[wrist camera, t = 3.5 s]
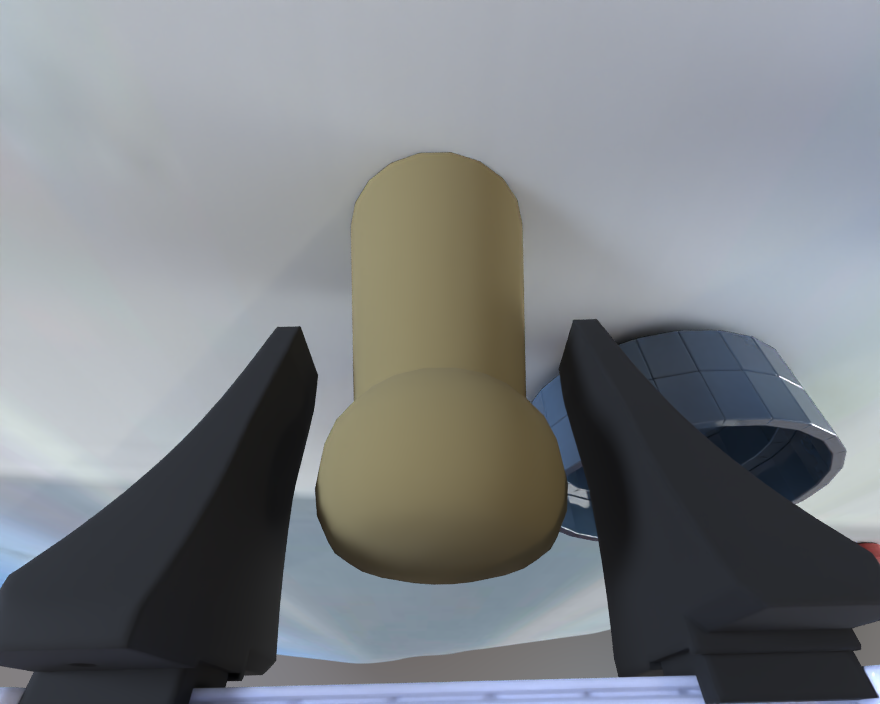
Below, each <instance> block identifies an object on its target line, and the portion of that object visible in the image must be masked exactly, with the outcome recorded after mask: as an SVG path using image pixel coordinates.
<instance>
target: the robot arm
mask: <svg viewBox="0 0 880 704" xmlns="http://www.w3.org/2000/svg"><path fill="white" fill-rule="evenodd" d="M559 375H560V382H561V388H562V394H563V400H564V405H565V408H566V412H567V415H568V419H569V422H570V426H571V429H572V432H573V436H574V439H575V442H576V446H577V449H578V453H579V456H580V459H581V463H582V466H583V469H584V473H585V476H586V480H587V484H588V488H589V492H590V497H591V502H592V508H593V513H594V518H595V524H596V529H597V535H598V541H599V547H600V553H601V559H602V566H603V573H604V580H605V587H606V594H607V601H608V609H609V617H610V626H611V633H612V642H613V653H614V660H615V664H616V668H617V672H618V677H617V678H580V679H579V678H577V679H544V680H543V679H538V680H500V681H461V682H423V683H383V684H344V685H305V686H266V687H228V688H225V686H226V683H227V681H242V679H243V677H244V675H263V674H264V673H265V672H266V671H267V670H268V669H269V668H270V667H271V666H272V665H273V664H274V663H275V661H276V653H277V638H278V624H279V611H280V600H281V589H282V579H283V569H284V561H285V552H286V544H287V536H288V528H289V521H290V514H291V507H292V500H293V495H294V490H295V485H296V481H297V477H298V473H299V469H300V465H301V461H302V457H303V453H304V449H305V445H306V441H307V437H308V433H309V429H310V425H311V421H312V416H313V412H314V406H315V399H316V390H317V380H318V374H317V371H316V368H315V366H314V363H313V360H312V357H311V354H310V352H309V349H308V346H307V343H306V341H305V338H304V335H303V332H302V329H301V327H300V326H299V327H277V328H276V329H275V330H274V331H273V333H272V334H271V335H270V337H269V338H268V339H267V341H266V342H265V343H264V345H263V346H262V347H261V349H260V350H259V351H258V353H257V354H256V355H255V357H254V358H253V359H252V360H251V362H250V363H249V364H248V366H247V367H246V368H245V370H244V371H243V372H242V373H241V374H240V376H239V377H238V378H237V379H236V381H235V382H234V383H233V384H232V386H231V387H230V388H229V389H228V391H227V392H226V393H225V394H224V395H223V397H222V398H221V399H220V400H219V401H218V402H217V403H216V404H215V406H214V407H213V408H212V409H211V410H210V411H209V412H208V413H207V415H206V416H205V417H204V418H203V419H202V420H201V421H200V422H199V423H198V424H197V426H196V427H195V428H194V429H193V430H192V431H191V432H190V433H189V434H188V435H187V436H186V437H185V438H184V439H183V440H182V441H181V442H180V443H179V444H178V445H177V446H176V447H175V448H174V449H173V450H172V451H171V452H170V453H168V454H167V455H166V456H165V457H164V458H163V459H162V460H161V461H160V462H159V463H158V464H156V465H155V466H154V467H153V468H152V469H151V470H150V471H149V472H147V473H146V474H145V475H144V476H143V477H142V478H140V479H139V480H138V481H137V482H136V483H135V484H133V485H132V486H131V487H130V488H129V489H128V490H126V491H125V492H124V493H123V494H122V495H120V496H119V497H118V498H116V499H115V500H114V501H113V502H111V503H110V504H109V505H107V506H106V507H105V508H104V509H102V510H101V511H100V512H99V513H97V514H96V515H95V516H93V517H92V518H91V519H89V520H88V521H87V522H85V523H84V524H83V525H81V526H80V527H79V528H77V529H76V530H74V531H73V532H72V533H70V534H69V535H67V536H66V537H65V538H63V539H62V540H60V541H59V542H57V543H56V544H54V545H53V546H51V547H50V548H49V549H47V550H46V551H44V552H43V553H41V554H40V555H38V556H37V557H35V558H34V559H32V560H31V561H30V562H28V563H27V564H25V565H24V566H22V567H21V568H19V569H18V570H16V571H15V572H13V573H12V574H10V575H9V576H8V577H7V579H6V580H5V582H4V584H3V585H2V587H1V589H0V666H4V667H10V668H16V669H22V670H27V671H33V672H34V673H33V675H32V677H31V679H30V681H29V683H28V685H27V687H26V688H18V687H0V704H880V665H871V666H861V665H860V663H859V661H858V659H857V657H856V656H855V654H854V652H853V651H856V650H861V644H860V642H859V640H858V638H857V637H856V635H855V633H854V631H853V630H852V628H855V627H858V626H861V625H865V624H869V623H872V622H876V621H880V563H879V562H878V560H877V559H876V558H875V556H874V555H873V553H872V552H870V551H868V550H867V549H865V548H863V547H862V546H860V545H859V544H857V543H855V542H854V541H852V540H850V539H849V538H847V537H846V536H844V535H842V534H841V533H839V532H837V531H836V530H834V529H833V528H831V527H829V526H828V525H826V524H824V523H823V522H821V521H819V520H818V519H816V518H815V517H813V516H812V515H810V514H809V513H807V512H806V511H804V510H803V509H801V508H800V507H798V506H797V505H795V504H794V503H792V502H791V501H789V500H788V499H786V498H785V497H783V496H782V495H781V494H779V493H778V492H776V491H775V490H773V489H772V488H771V487H769V486H768V485H766V484H765V483H764V482H762V481H761V480H760V479H758V478H757V477H756V476H754V475H753V474H752V473H750V472H749V471H748V470H746V469H745V468H744V467H743V466H741V465H740V464H739V463H737V462H736V461H735V460H733V459H732V458H731V457H730V456H728V455H727V454H726V453H725V452H723V451H722V450H721V449H720V448H718V447H717V446H716V445H715V444H714V443H713V442H711V441H710V440H709V439H708V438H707V437H706V436H705V435H703V434H702V433H701V432H700V431H699V430H698V429H697V428H695V427H694V426H693V425H692V424H691V423H690V422H689V421H688V420H687V419H686V418H685V417H684V416H683V415H681V414H680V413H679V412H678V411H677V410H676V409H675V408H674V407H673V406H672V405H671V404H670V403H669V402H668V401H667V400H666V399H665V398H664V396H663V395H662V394H661V393H660V392H659V391H658V390H657V389H656V388H655V387H654V386H653V385H652V384H651V383H650V381H649V380H648V379H647V378H646V377H645V376H644V375H643V374H642V373H641V371H640V370H639V369H638V368H637V367H636V366H635V365H634V363H633V362H632V361H631V360H630V359H629V358H628V356H627V355H626V354H625V353H624V352H623V350H622V349H621V348H620V347H619V346H618V344H617V343H616V342H615V341H614V340H613V338H612V337H611V336H610V335H609V333H608V332H607V331H606V330H605V329H604V327H603V326H602V325H601V324H600V323H599V321H598V320H597V319H587V320H573V323H572V326H571V330H570V333H569V336H568V340H567V343H566V346H565V350H564V353H563V357H562V360H561V363H560V367H559Z"/></svg>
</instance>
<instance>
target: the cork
mask: <svg viewBox="0 0 880 704" xmlns="http://www.w3.org/2000/svg"><path fill="white" fill-rule="evenodd" d="M351 265H352V325H353V384H354V402H353V403H352V404H351V405H350V406H349V407H348V408H347V409H346V410H345V411H344V412H343V413H342V414H341V415H340V416H339V418H338V419H337V420H336V422H335V424H334V426H333V428H332V430H331V432H330V434H329V436H328V438H327V440H326V442H325V444H324V449H323V453H322V458H321V462H320V467H319V472H318V477H317V482H316V487H315V495H316V509H317V517H318V519H319V522H320V524H321V526H322V529H323V531H324V534H325V536H326V538H327V541H328V543H329V544H330V546H331V548H332V549H333V551H334V553H335V554H337V555H338V556H339V557H341V558H342V559H344V560H345V561H346V562H348V563H349V564H351V565H352V566H354V567H356V568H357V569H359V570H361V571H362V572H365V573H369V574H372V575H375V576H378V577H381V578H387V579H393V580H399V581H404V582H411V583H420V584H458V583H468V582H474V581H479V580H484V579H489V578H494V577H499V576H503V575H507V574H510V573H512V572H515V571H518V570H521V569H523V568H525V567H527V566H528V565H530V564H531V563H533V562H534V561H536V560H537V559H539V558H540V557H541V556H542V555H544V554H545V553H546V552H547V551H549V550H550V549H551V547H552V546H553V544H554V542H555V540H556V538H557V536H558V534H559V531H560V528H561V526H562V523H563V520H564V518H565V515H566V512H567V497H568V482H567V478H566V474H565V470H564V466H563V462H562V457H561V454H560V450H559V446H558V442H557V439H556V437H555V435H554V433H553V431H552V430H551V428H550V426H549V424H548V422H547V420H546V418H545V416H544V415H543V414H542V413H541V412H540V411H539V410H538V409H537V408H536V407H535V406H534V405H532V404H531V403H530V402H529V401H528V400H527V399H526V371H525V323H524V275H523V227H522V220H521V215H520V211H519V206H518V202H517V199H516V198H515V196H514V195H513V193H512V192H511V190H510V189H509V187H508V186H507V184H506V182H505V181H504V179H503V178H502V177H500V176H499V175H498V174H496V173H495V172H493V171H492V170H491V169H489V168H488V167H487V166H485V165H484V164H483V163H481V162H480V161H477V160H474V159H470V158H467V157H464V156H461V155H457V154H454V153H451V152H448V153H418V154H416V155H413V156H410V157H407V158H404V159H401V160H398V161H395V162H393V163H391V164H389V165H388V166H387V167H386V168H384V169H383V170H382V171H380V172H379V173H378V174H377V175H375V176H374V177H373V178H372V179H370V180H369V181H368V183H367V185H366V186H365V188H364V190H363V191H362V193H361V194H360V196H359V198H358V199H357V201H356V203H355V207H354V213H353V218H352V223H351Z"/></svg>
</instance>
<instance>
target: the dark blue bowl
mask: <svg viewBox="0 0 880 704" xmlns="http://www.w3.org/2000/svg"><path fill="white" fill-rule="evenodd" d="M618 346H619V347H620V348H621V349H622V350H623V352H624V353H625V354H626V355H627V356H628V358H629V359H630V360H631V361H632V362H633V363H634V365H635V366H636V367H637V368H638V369H639V370H640V371H641V373H642V374H643V375H644V376H645V377H646V378H647V379H648V380H649V381H650V383H651V384H652V385H653V386H654V387H655V388H656V389H657V390H658V391H659V392H660V393H661V394H662V395H663V396H664V398H665V399H666V400H667V401H668V402H669V403H670V404H671V405H672V406H673V407H674V408H675V409H676V410H677V411H678V412H679V413H680V414H681V415H683V416H684V417H685V418H686V419H687V420H688V421H689V422H690V423H691V424H692V425H693V426H694V427H695V428H697V429H698V430H699V431H700V432H701V433H702V434H703V435H705V436H706V437H707V438H708V439H709V440H710V441H711V442H713V443H714V444H715V445H716V446H717V447H718V448H720V449H721V450H722V451H723V452H725V453H726V454H727V455H728V456H730V457H731V458H732V459H733V460H735V461H736V462H737V463H739V464H740V465H741V466H743V467H744V468H745V469H746V470H748V471H749V472H750V473H752V474H753V475H754V476H756V477H757V478H758V479H760V480H761V481H762V482H764V483H765V484H766V485H768V486H769V487H771V488H772V489H773V490H775V491H776V492H778V493H779V494H781V495H782V496H783V497H785V498H786V499H788V500H789V501H791V502H792V503H794V504H797V503H799V502H801V501H803V500H805V499H807V498H808V497H810V496H811V495H813V494H814V493H816V492H817V491H819V490H820V489H822V488H823V487H824V486H826V485H827V484H829V482H830V481H831V480H832V479H833V478H834V477H835V476H836V474H837V473H838V472H839V471H840V470H841V469H842V467H843V465H844V460H845V456H846V448H845V447H844V445H843V444H842V442H841V441H840V439H839V438H838V436H837V435H836V433H835V432H834V430H833V429H832V428H831V426H830V425H829V423H828V422H827V421H826V419H825V418H824V416H823V415H822V414H821V412H820V411H819V409H818V408H817V407H816V405H815V404H814V403H813V401H812V400H811V398H810V397H809V396H808V394H807V393H806V391H805V390H804V389H803V387H802V386H801V384H800V383H799V382H798V380H797V379H796V377H795V376H794V375H793V373H792V372H791V370H790V369H789V368H788V366H787V365H786V363H785V362H784V361H783V359H782V358H781V356H780V355H779V354H778V352H777V351H776V350H775V349H774V348H773V347H771V346H769V345H767V344H765V343H763V342H762V341H760V340H758V339H756V338H754V337H752V336H748V335H742V334H737V333H732V332H727V331H721V330H718V331H717V330H687V331H678V332H677V331H673V332H668V333H662V334H657V335H652V336H647V337H642V338H637V339H636V340H635V339H633V340H630V341H628V342H625V343H622V344H619V345H618ZM531 404H532V405H534V406H535V407H536V408H537V409H538V410H539V411H540V412H541V413H542V414H543V415H544V416H545V418H546V420H547V422H548V424H549V426H550V428H551V430H552V431H553V433H554V435H555V437H556V439H557V442H558V446H559V450H560V454H561V457H562V462H563V466H564V470H565V474H566V478H567V482H568V497H567V512H566V515H565V518H564V520H563V523H562V526H561V528H560V531H559V532H561V533H564V534H566V535H569V536H572V537H577V538H582V539H587V540H592V541H598V535H597V529H596V524H595V518H594V513H593V508H592V502H591V497H590V492H589V488H588V484H587V480H586V476H585V473H584V469H583V466H582V463H581V459H580V456H579V453H578V449H577V446H576V442H575V439H574V436H573V432H572V429H571V426H570V422H569V419H568V415H567V412H566V408H565V405H564V400H563V394H562V388H561V382H560V375H558V376H557V377H555V378H554V379H553V380H552V381H551V382H549V383H548V384H547V385H546V386H545V387H543V388H542V390H540V392H539V393H538V395H537V396H536V397H535V399H534V400H533V402H532V403H531Z"/></svg>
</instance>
